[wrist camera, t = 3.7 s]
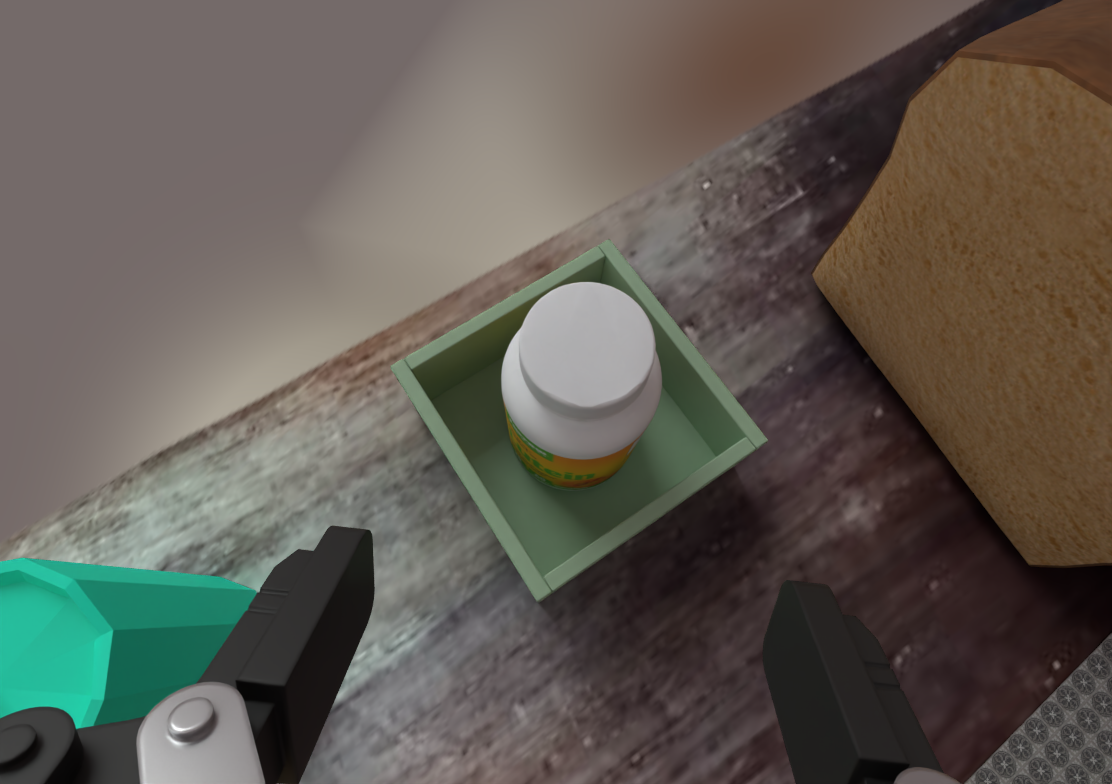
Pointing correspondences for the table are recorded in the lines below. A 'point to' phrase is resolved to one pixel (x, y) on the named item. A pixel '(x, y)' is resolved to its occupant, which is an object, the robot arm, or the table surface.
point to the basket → (586, 515)
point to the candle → (107, 636)
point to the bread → (1001, 275)
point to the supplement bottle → (580, 385)
